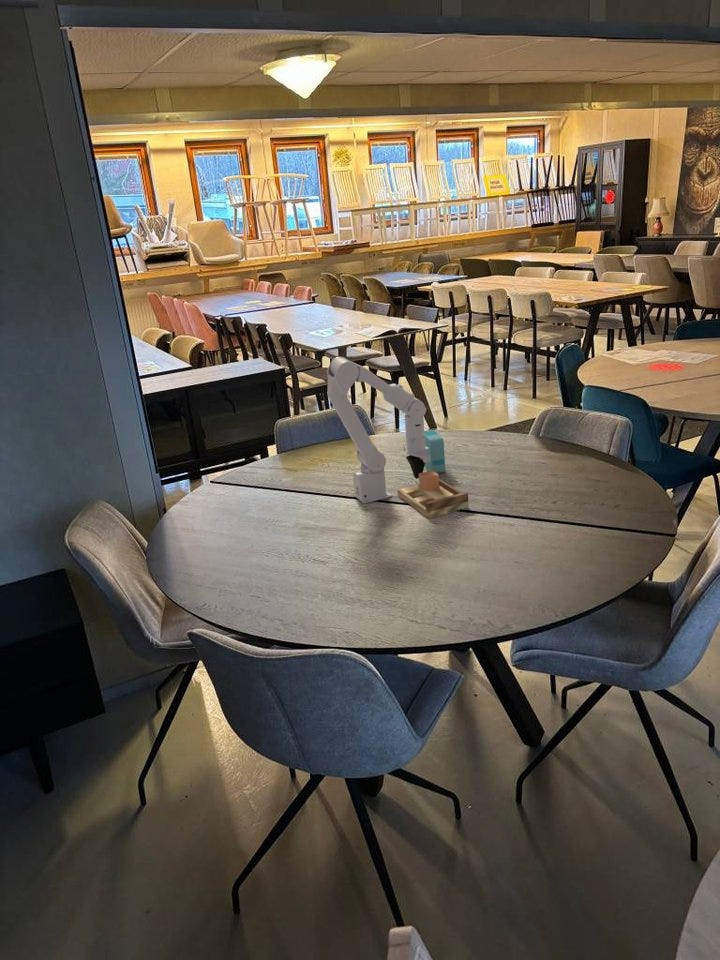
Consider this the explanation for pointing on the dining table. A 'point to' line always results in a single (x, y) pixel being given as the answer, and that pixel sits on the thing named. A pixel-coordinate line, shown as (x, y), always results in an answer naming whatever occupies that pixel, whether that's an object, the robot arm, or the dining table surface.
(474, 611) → the dining table surface
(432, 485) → the block
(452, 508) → the trap board
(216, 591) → the dining table surface
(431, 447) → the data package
